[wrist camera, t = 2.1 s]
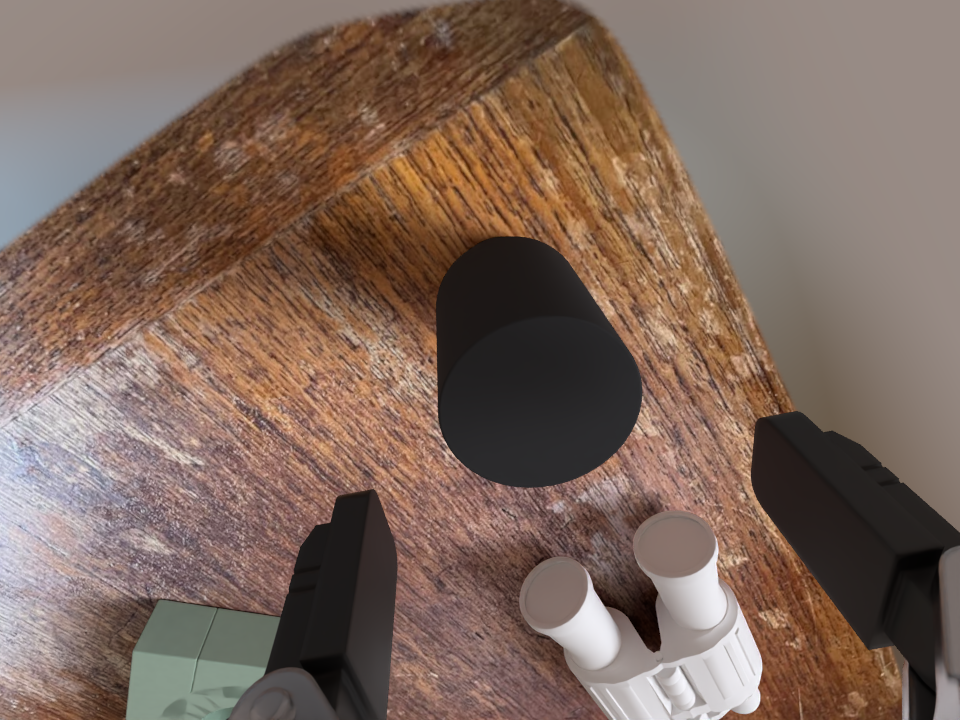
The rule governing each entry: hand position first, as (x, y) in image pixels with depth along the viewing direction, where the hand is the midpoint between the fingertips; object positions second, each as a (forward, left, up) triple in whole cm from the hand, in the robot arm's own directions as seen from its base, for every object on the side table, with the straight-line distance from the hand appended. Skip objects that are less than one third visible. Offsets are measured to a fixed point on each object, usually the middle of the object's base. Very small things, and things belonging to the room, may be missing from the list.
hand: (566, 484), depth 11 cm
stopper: (0, 0, -12) cm, 12 cm away
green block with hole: (-5, -28, -12) cm, 31 cm away
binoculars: (+16, -17, -12) cm, 26 cm away
